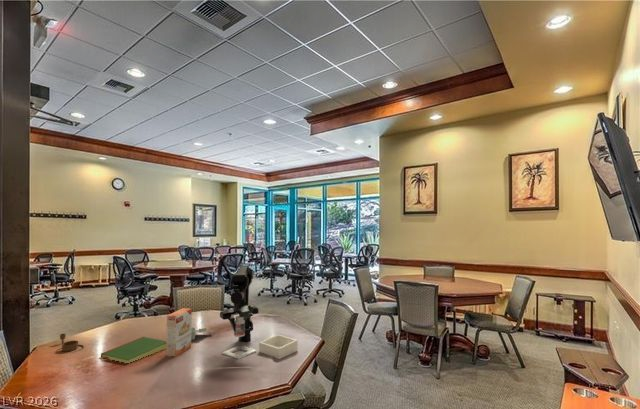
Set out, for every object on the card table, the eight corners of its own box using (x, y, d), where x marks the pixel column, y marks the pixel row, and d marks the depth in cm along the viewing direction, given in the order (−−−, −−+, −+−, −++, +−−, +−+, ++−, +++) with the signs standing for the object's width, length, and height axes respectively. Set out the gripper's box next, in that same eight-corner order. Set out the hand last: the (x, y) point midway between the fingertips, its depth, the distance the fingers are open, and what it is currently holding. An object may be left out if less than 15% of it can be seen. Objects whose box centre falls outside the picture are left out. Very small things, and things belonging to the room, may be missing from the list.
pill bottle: (235, 338, 170) (235, 318, 170) (232, 334, 175) (233, 315, 175) (246, 336, 173) (246, 316, 173) (243, 332, 177) (243, 313, 178)
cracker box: (176, 358, 170) (176, 316, 170) (165, 357, 171) (165, 315, 171) (192, 347, 183) (192, 308, 184) (182, 346, 184) (182, 307, 185)
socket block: (222, 355, 172) (222, 352, 172) (240, 348, 182) (240, 344, 182) (238, 362, 165) (238, 358, 165) (256, 353, 175) (256, 350, 175)
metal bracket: (204, 329, 194) (179, 327, 196) (203, 340, 192) (178, 338, 194) (215, 328, 207) (192, 326, 209) (213, 338, 206) (190, 337, 208)
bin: (259, 353, 175) (259, 342, 175) (277, 344, 187) (277, 334, 187) (279, 360, 167) (279, 348, 167) (297, 350, 178) (297, 340, 178)
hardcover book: (143, 343, 190) (143, 336, 190) (168, 348, 183) (168, 341, 183) (99, 361, 167) (99, 354, 167) (126, 368, 160) (126, 360, 160)
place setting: (44, 359, 169) (44, 347, 169) (59, 344, 188) (59, 333, 188) (85, 354, 175) (85, 342, 176) (96, 340, 194) (96, 330, 194)
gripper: (226, 305, 162) (226, 338, 162) (263, 299, 173) (262, 330, 172) (219, 300, 171) (219, 331, 171) (254, 294, 182) (254, 324, 182)
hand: (239, 329), depth 174 cm, fingers closed on pill bottle, 5 cm apart
